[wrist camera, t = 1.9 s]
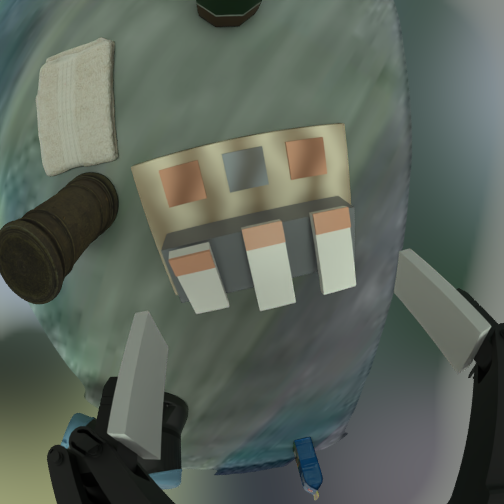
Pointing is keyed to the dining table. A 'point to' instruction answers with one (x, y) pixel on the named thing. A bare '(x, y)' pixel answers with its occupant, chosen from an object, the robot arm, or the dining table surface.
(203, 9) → the beer bottle
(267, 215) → the switch housing
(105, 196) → the container
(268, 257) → the switch middle
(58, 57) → the washcloth
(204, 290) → the switch
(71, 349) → the dining table surface
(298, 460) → the blue food package
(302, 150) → the switch board
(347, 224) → the switch
